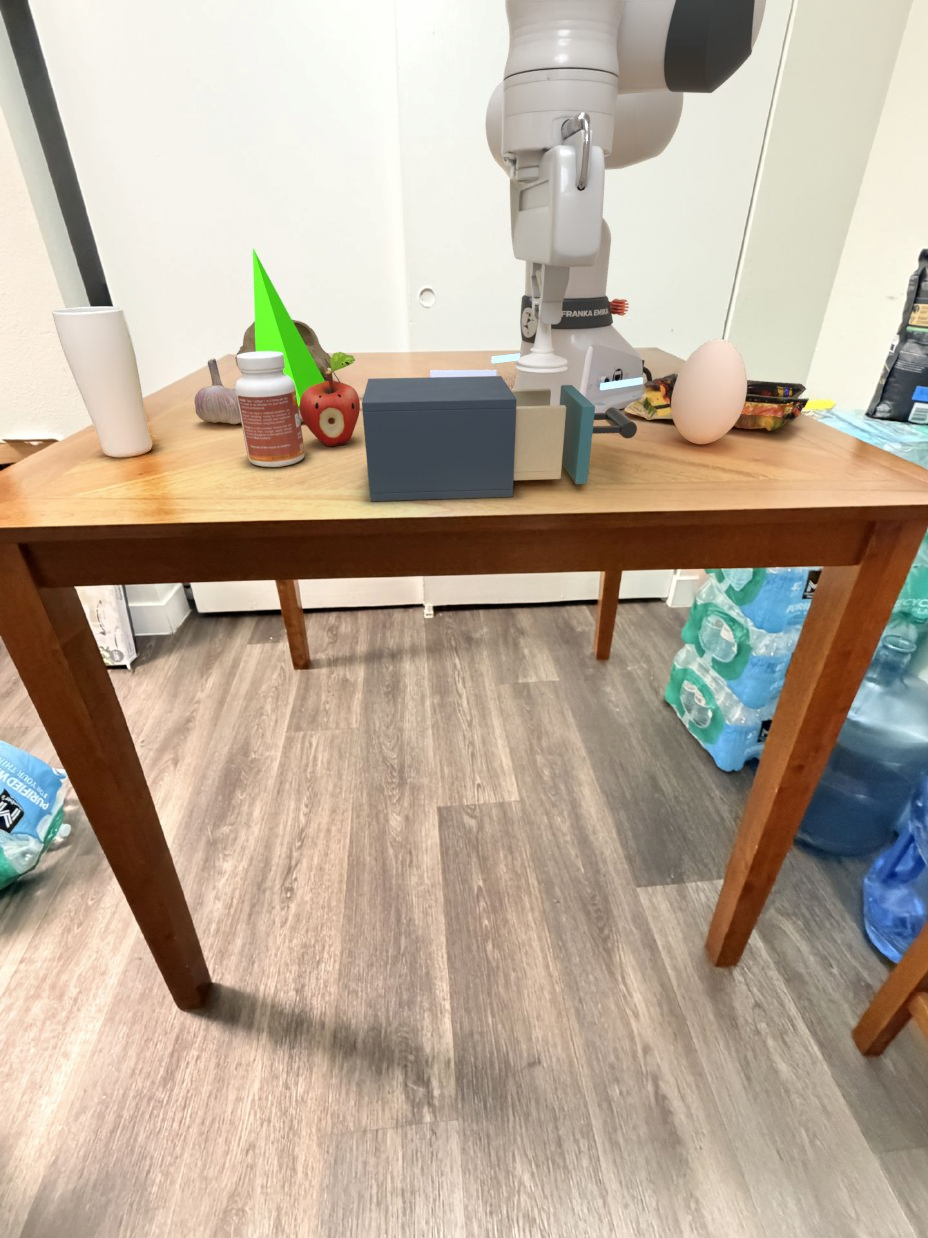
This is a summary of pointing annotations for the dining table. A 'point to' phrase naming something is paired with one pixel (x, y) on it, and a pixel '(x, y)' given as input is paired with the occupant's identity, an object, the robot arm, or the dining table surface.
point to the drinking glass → (106, 376)
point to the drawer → (559, 433)
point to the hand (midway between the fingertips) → (545, 321)
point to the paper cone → (281, 333)
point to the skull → (308, 338)
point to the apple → (331, 406)
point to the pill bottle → (268, 410)
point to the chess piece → (542, 349)
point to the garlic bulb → (217, 400)
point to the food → (761, 408)
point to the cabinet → (439, 438)
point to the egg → (709, 392)
